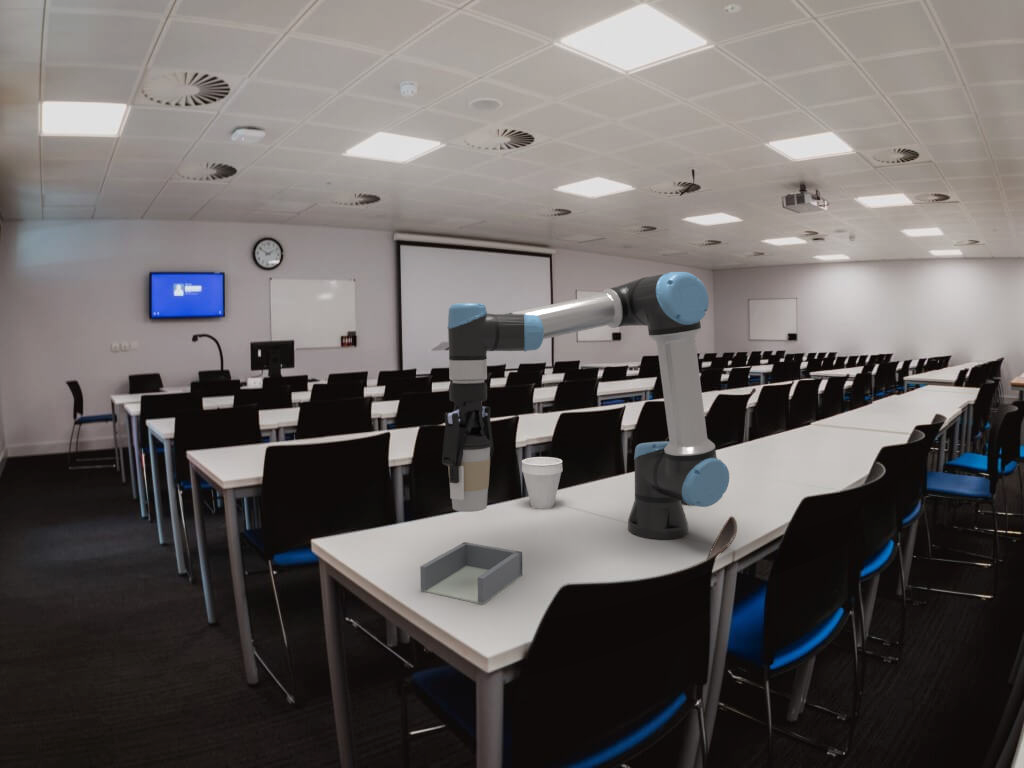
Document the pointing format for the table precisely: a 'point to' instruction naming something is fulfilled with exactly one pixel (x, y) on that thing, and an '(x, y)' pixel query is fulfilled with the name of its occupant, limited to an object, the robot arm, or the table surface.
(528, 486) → the cup
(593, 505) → the table surface
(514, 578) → the u rest
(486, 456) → the coffee cup
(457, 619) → the table surface
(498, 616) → the table surface
